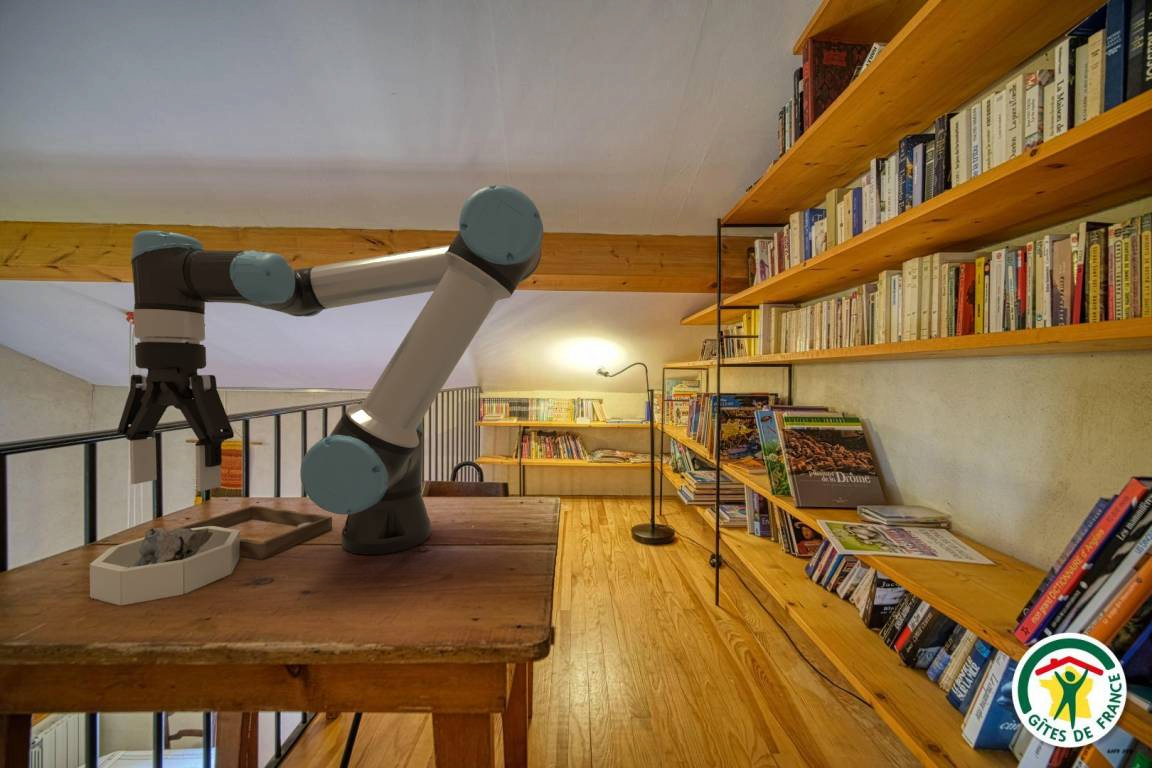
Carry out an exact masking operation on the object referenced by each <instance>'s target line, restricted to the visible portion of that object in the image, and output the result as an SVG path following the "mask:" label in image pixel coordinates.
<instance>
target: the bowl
mask: <svg viewBox="0 0 1152 768" xmlns="http://www.w3.org/2000/svg"><path fill="white" fill-rule="evenodd" d="M204 528H208V529H209V530H208V532H213V534H212V536H211V537H210V539H209V540H208V541H207V542H206V543H205V544H204V545H203V546H201V547H200V549H199V550H198V552H197V553H196V555H194V556H191V557H188V558H186V559H183V560H177V561H170V562H164V563H157V564H150V565H144V566H137V567H130V568H128V567H129V566H130V565H131V564H132V563H133V562H135V561H137V560H138V559H139V558H140V557H141V556H142V555H141V554H140V552H139V549H140V547H141V545H142V544H141V543H142V542H143V540H144V539H145V536H143V537H141V538H137V539H134V540H131V541H127V542H123V543H120V544H118V545H114V546H111V547H109V548H108V549H107V550H105V551H103V552H102V554H100V555H99V556H98V557H97V558H96V559H94V560H93V561H92V562H91V563H89V598H90V597H91V598H90V599H93V598H94V599H93V600H97V599H98V601H101V602H105V603H109V604H113V605H116V606H126V605H132V604H137V603H143V602H147V601H154V600H160V599H165V598H171V597H176V596H182V595H186V594H188V593H191V592H193V591H196V590H197V589H199V588H202V587H204V586H206V585H209V584H211V583H213V582H216V581H218V580H221V579H223V578H225V577H227V576H229V575H231V574H233V572H234V570H235V568H236V566H237V565H238V563H239V560H240V557H241V556H240V538H241V535H240V533H241V531H240V529H233V528H229V527H226V528H222V527H216V526H207V527H199V528H191V529H192V530H198V529H204ZM182 530H184V529H182Z"/></svg>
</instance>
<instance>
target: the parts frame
mask: <svg viewBox="0 0 1152 768" xmlns="http://www.w3.org/2000/svg"><path fill="white" fill-rule="evenodd" d="M251 520H257V521H264V522H269V523H276V524H284V525H288V526H295V527H297V526H298V525H300V524H303V523H308V522H313V523H310V524H308V525H305V526H302V527H300V528H295V529H293V530H290V531H287V532H285V533H282V534H280V535H277V536H274V537H272V538H269V539H267V540H265V541H258V540H253V539H252V540H251V539H246V538H243V537H242V538H241V537H240V555H242V556H241V557H244V556H246V558H251V559H255V560H265V559H266V558H269V557H271V556H273V555H276V554H278V553H280V552H282V551H285V550H287V549H290V548H291V547H295V546H296V545H299V544H301V543H303V541H304V542H305V541H306V542H307V541H308V540H311V539H313V538H315V537H317V536H320V535H322V534H325V533H327V532H330V531H331V530H333V516H330V515H329V516H328V515H322V514H315V513H309V512H301V511H295V510H290V509H289V510H288V509H280V508H274V507H269V506H267V507H266V506H260V505H254V504H253V505H250V506H247V507H244V508H240V509H237V510H234V511H230V512H226V513H224V514H219V515H216V516H213V517H210V518H207V519H203V520H199V521H195V522H192V523H190V524H186V525H183V526H180V527H176V528H174V529H173V530H182V529H191V528H199V527H207V526H216V527H222V528H229V527H233V526H235V525H239V524H241V523H244V522H247V521H251Z"/></svg>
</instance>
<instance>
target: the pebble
mask: <svg viewBox="0 0 1152 768" xmlns="http://www.w3.org/2000/svg"><path fill="white" fill-rule="evenodd" d="M310 523H313V522H308V523H303V524H300V525H298V526H296V527H297V528H300V527H302V526H305V525H308V524H310ZM297 528H296V529H297Z"/></svg>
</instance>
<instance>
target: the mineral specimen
mask: <svg viewBox="0 0 1152 768" xmlns="http://www.w3.org/2000/svg"><path fill="white" fill-rule="evenodd" d="M208 530H209V529H208V528H204V529H198V530H192V529H184V530H174V529H172V530H171V529H170V530H168V529H167V530H166V529H165V528H164V527H160V526H159V527H158V526H155V527H152V528H149V529H148V530H147V531H145V532H144V533H145V535H144V537H145V539H144V540H143V542H142V543H141V544H142V545H141V547H140V549H139V552H140V554H141V555H142V556H141V557H140V558H139V559H138V560H137V561H135V562H133V563H132V564H131V565H130V566H129V567H128V568H130V567H137V566H144V565H150V564H157V563H164V562H170V561H177V560H183V559H186V558H188V557H191V556H194V555H196V553H197V552H198V550H199V549H200V547H201V546H203V545H204V544H205V543H206V542H207V541H208V540H209V539H210V537H211V536H212V534H213V532H208Z"/></svg>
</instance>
